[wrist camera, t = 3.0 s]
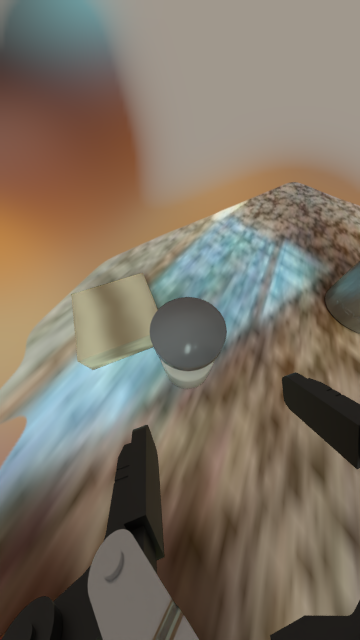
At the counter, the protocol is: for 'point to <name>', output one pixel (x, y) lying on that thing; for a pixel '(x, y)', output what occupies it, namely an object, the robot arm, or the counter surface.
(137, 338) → the maple base
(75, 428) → the counter surface
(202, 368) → the spice jar
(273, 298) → the counter surface
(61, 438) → the counter surface
